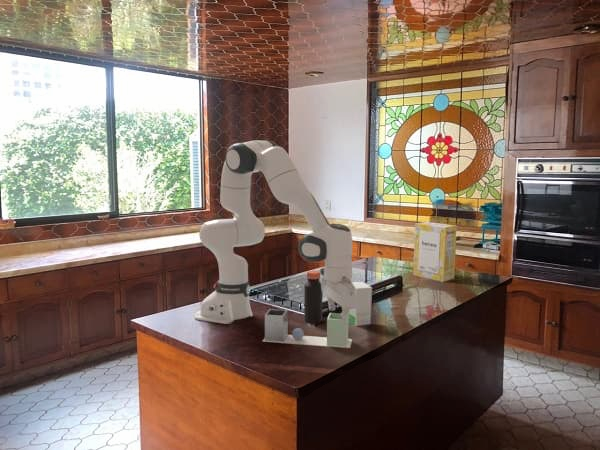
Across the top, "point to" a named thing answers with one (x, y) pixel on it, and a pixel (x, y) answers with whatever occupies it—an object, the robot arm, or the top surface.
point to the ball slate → (297, 333)
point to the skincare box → (361, 305)
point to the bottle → (313, 298)
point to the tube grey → (276, 325)
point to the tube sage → (337, 330)
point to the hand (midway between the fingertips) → (337, 314)
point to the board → (310, 341)
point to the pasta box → (435, 251)
